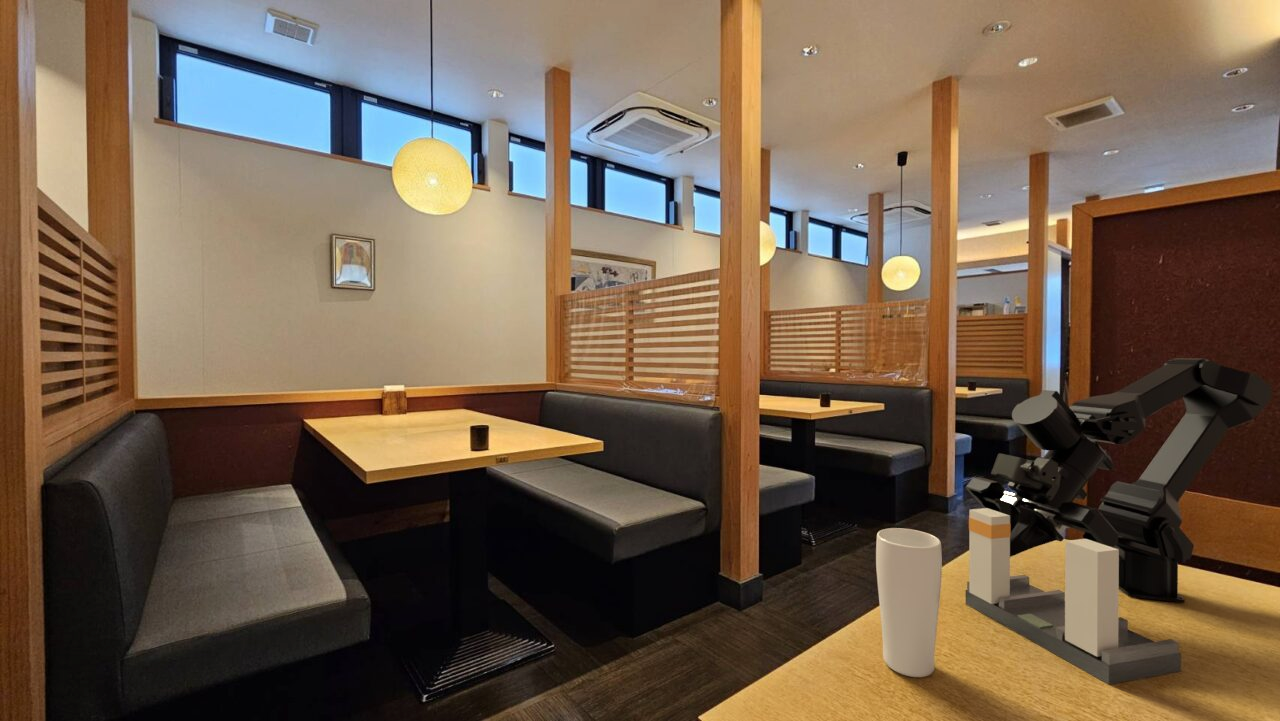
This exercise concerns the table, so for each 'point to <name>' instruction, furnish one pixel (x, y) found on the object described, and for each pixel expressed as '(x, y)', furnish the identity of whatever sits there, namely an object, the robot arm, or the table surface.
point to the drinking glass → (909, 598)
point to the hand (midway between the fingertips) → (999, 556)
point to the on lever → (1091, 595)
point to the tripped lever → (989, 554)
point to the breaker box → (1045, 626)
